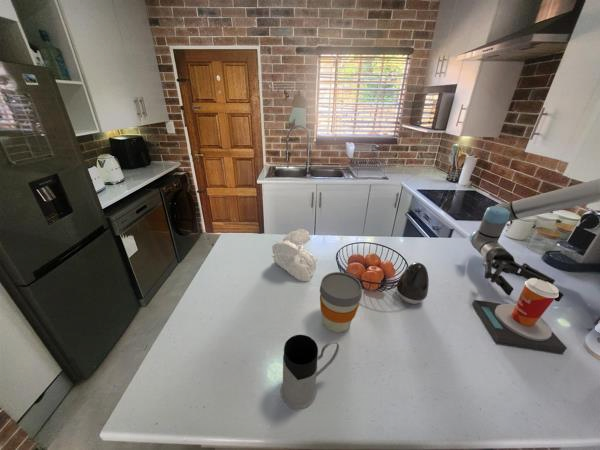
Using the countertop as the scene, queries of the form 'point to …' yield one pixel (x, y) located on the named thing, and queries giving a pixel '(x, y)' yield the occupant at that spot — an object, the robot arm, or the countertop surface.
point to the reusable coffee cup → (339, 300)
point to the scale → (516, 328)
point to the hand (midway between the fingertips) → (534, 295)
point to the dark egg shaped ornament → (413, 283)
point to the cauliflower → (295, 255)
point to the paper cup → (534, 301)
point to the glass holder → (302, 370)
